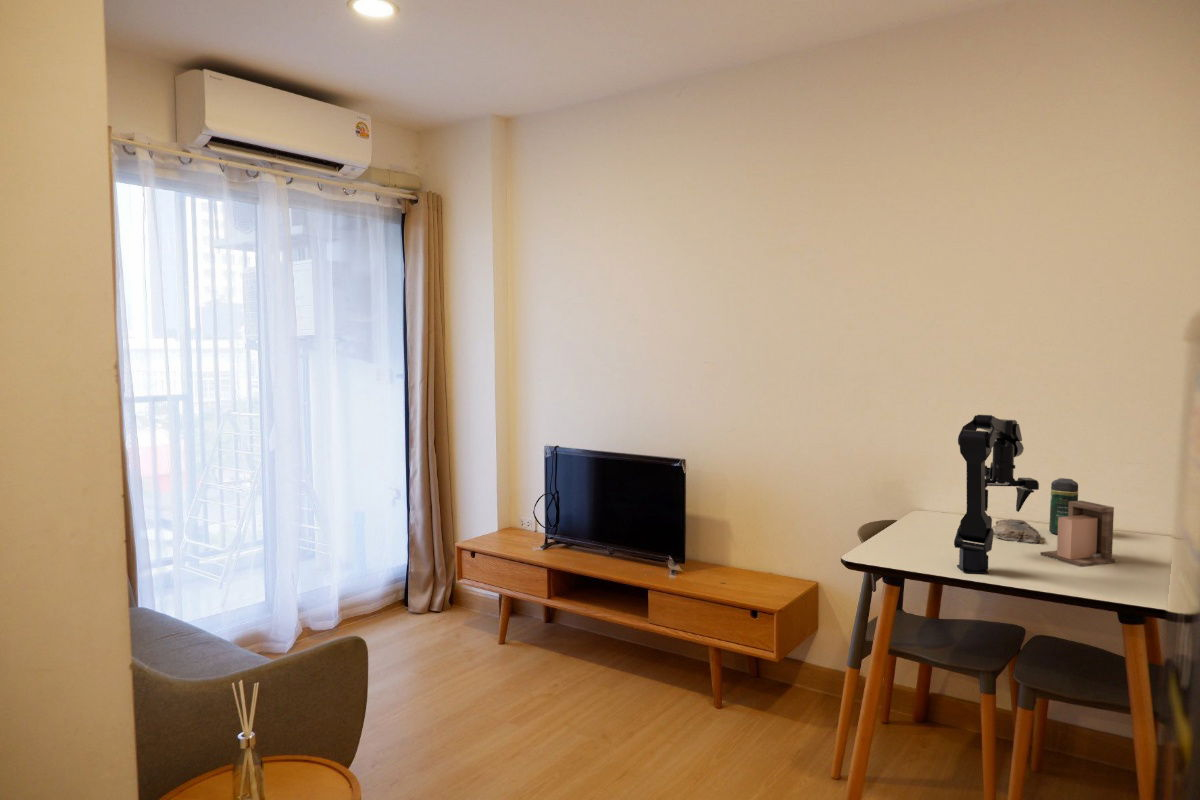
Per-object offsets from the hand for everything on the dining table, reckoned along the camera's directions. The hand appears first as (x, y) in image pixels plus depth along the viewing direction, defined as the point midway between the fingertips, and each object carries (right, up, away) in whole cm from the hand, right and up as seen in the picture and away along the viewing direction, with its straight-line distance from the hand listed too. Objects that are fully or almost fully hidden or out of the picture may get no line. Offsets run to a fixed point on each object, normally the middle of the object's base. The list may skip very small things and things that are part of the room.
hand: (1001, 511), depth 228 cm
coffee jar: (+34, -12, +26) cm, 44 cm away
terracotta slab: (+19, -13, -5) cm, 24 cm away
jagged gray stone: (+17, -12, +23) cm, 31 cm away
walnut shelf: (+20, -13, -5) cm, 24 cm away
